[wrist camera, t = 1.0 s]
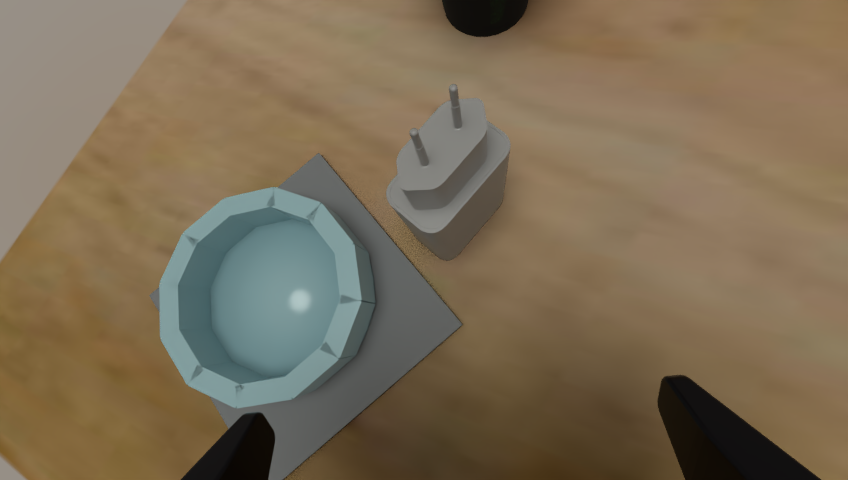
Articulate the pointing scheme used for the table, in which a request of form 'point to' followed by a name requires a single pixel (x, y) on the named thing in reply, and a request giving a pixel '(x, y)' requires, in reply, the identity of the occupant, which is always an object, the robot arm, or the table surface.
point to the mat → (383, 343)
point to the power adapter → (450, 176)
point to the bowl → (265, 298)
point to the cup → (484, 15)
